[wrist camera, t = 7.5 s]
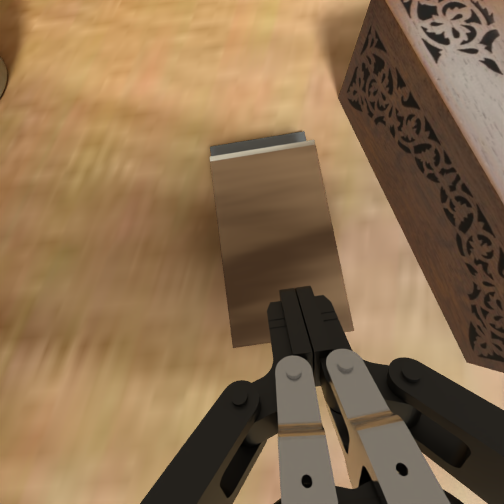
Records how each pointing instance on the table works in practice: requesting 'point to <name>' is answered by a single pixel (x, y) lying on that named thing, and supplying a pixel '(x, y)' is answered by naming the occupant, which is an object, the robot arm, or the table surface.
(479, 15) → the tissue box cover
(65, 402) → the table surface
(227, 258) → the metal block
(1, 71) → the planter bowl
